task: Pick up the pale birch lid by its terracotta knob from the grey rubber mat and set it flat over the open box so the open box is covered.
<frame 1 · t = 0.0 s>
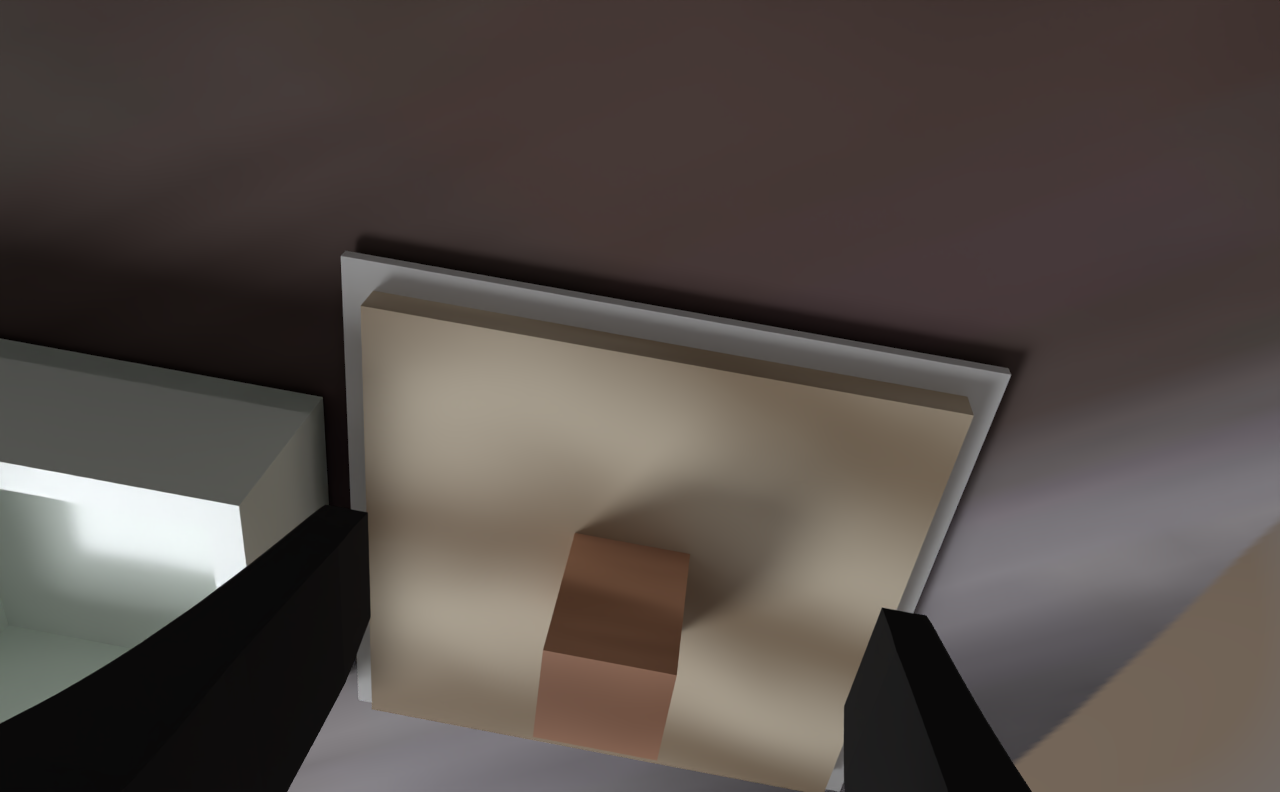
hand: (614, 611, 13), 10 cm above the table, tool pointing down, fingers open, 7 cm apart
open box: (147, 521, 27), on the table
mat: (630, 557, 26), on the table
lid: (628, 565, 25), resting on mat
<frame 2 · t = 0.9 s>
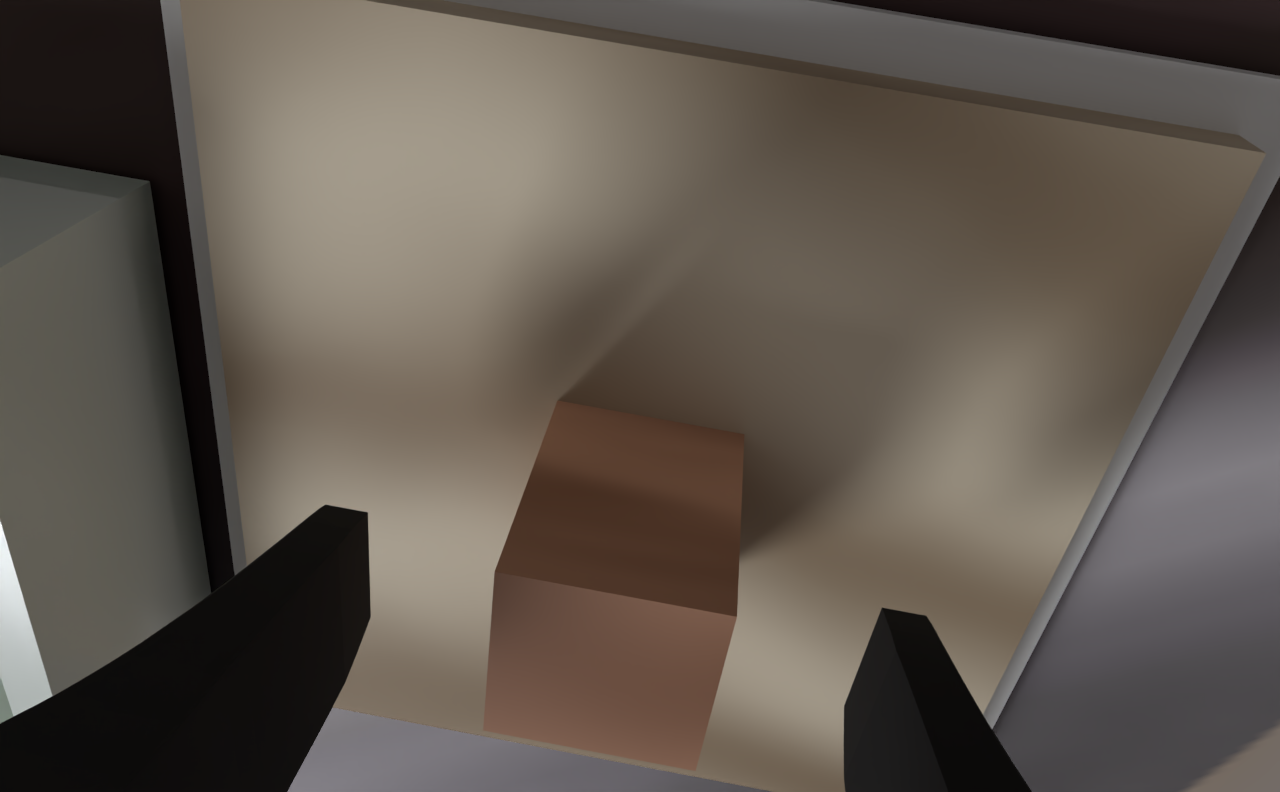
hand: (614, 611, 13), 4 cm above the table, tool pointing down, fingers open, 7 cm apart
mat: (645, 453, 16), on the table
lid: (643, 463, 16), resting on mat
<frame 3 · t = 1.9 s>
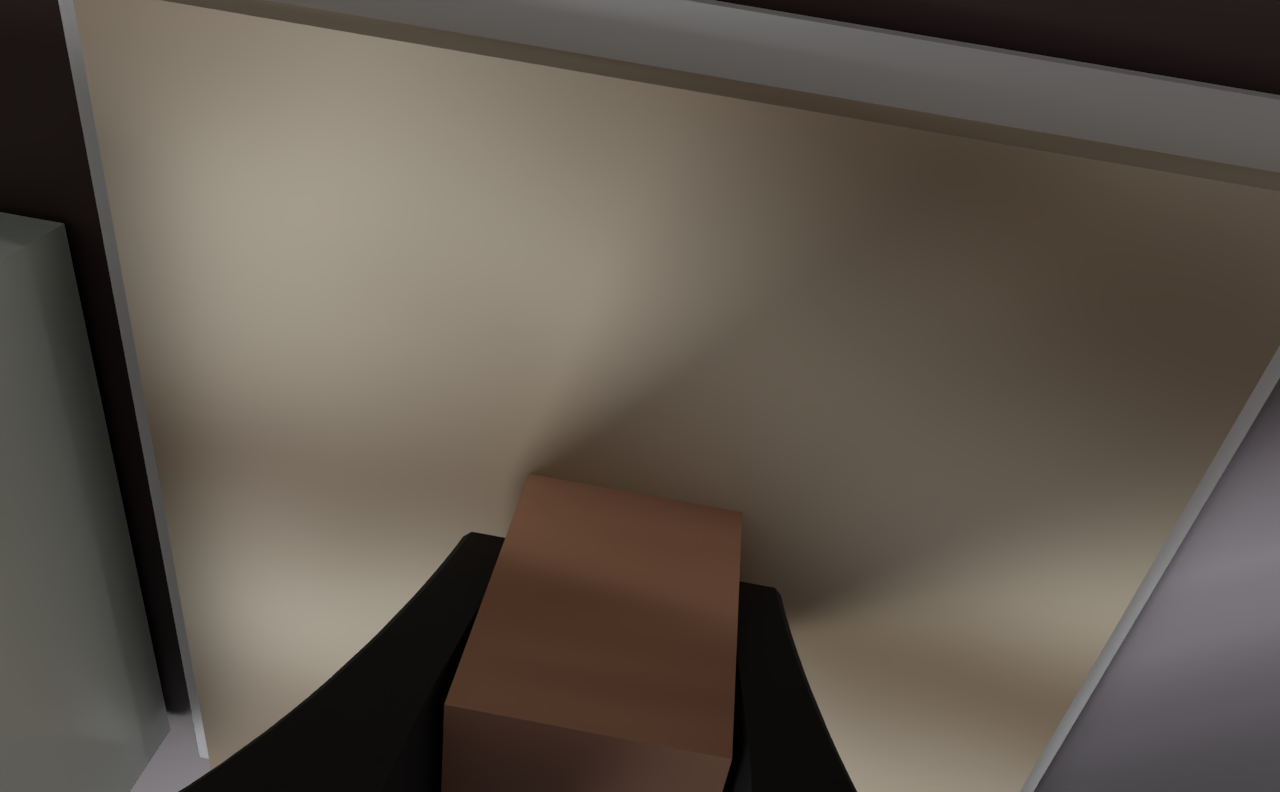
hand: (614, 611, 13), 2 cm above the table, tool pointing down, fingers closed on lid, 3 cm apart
mat: (631, 524, 15), on the table
lid: (628, 536, 14), resting on mat, touching gripper
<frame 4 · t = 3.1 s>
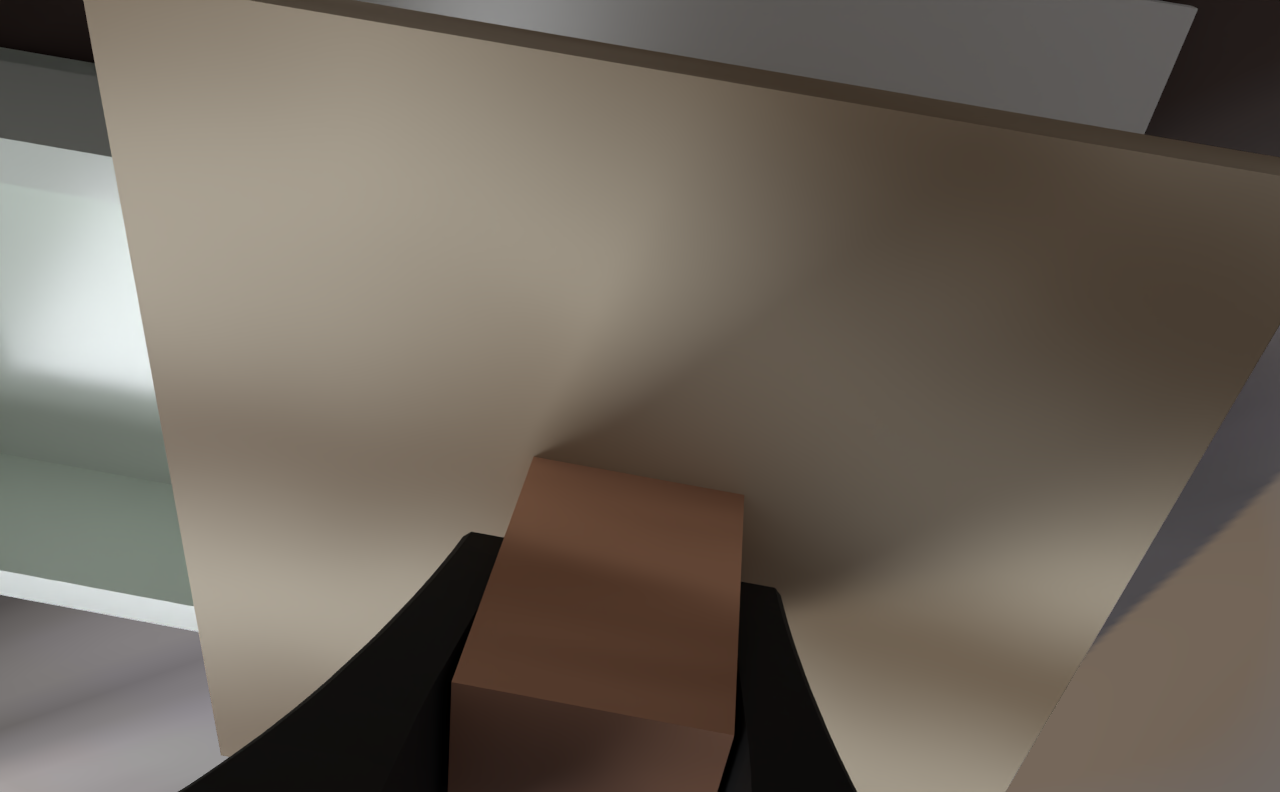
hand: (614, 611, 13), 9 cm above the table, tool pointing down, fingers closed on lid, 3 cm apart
open box: (81, 292, 22), on the table
mat: (680, 321, 21), on the table
lid: (632, 519, 15), point 7 cm above the table, touching gripper
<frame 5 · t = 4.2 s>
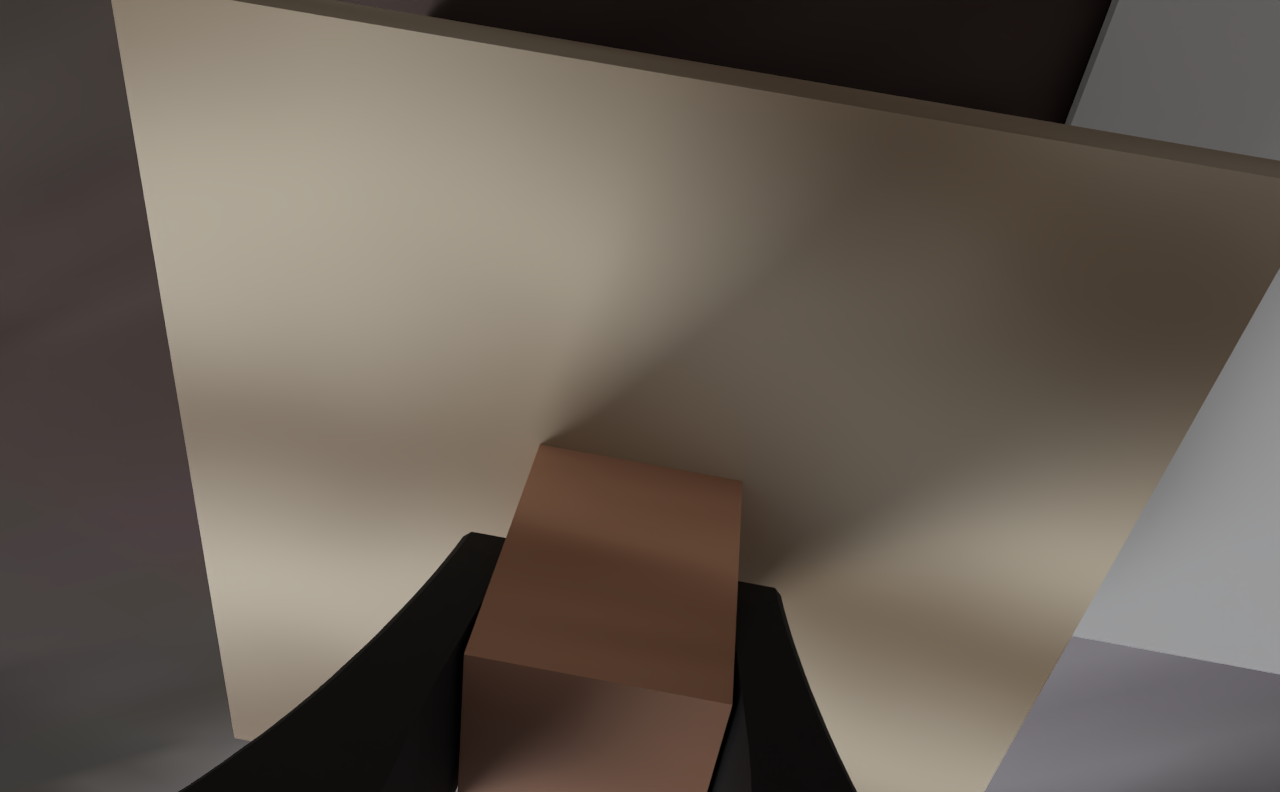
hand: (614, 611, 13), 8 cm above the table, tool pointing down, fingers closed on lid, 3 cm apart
lid: (634, 506, 15), point 6 cm above the table, touching gripper
when the fingers open (7 cm above the table, at t = 4.6 s): lid stays where it is, resting on open box.
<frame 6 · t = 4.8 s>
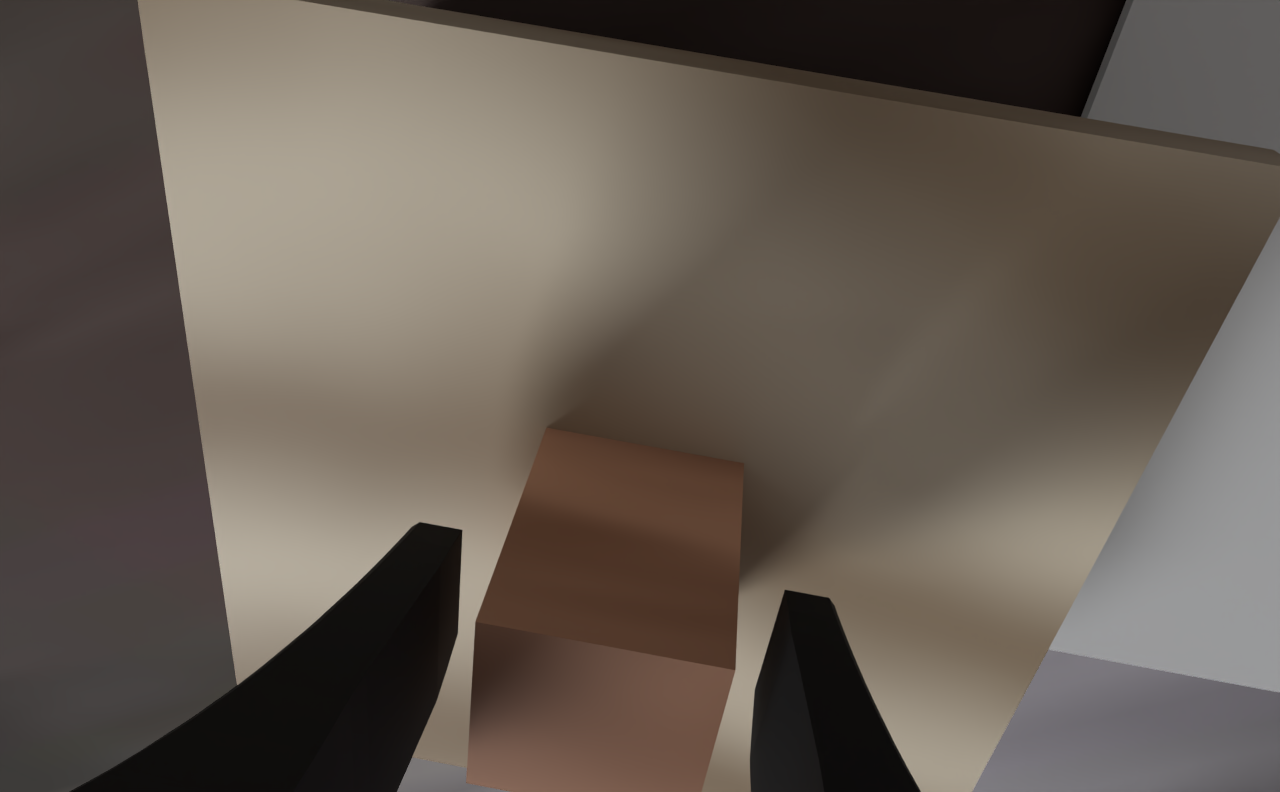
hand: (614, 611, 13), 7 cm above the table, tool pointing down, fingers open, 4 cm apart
lid: (637, 490, 15), point 4 cm above the table, touching open box
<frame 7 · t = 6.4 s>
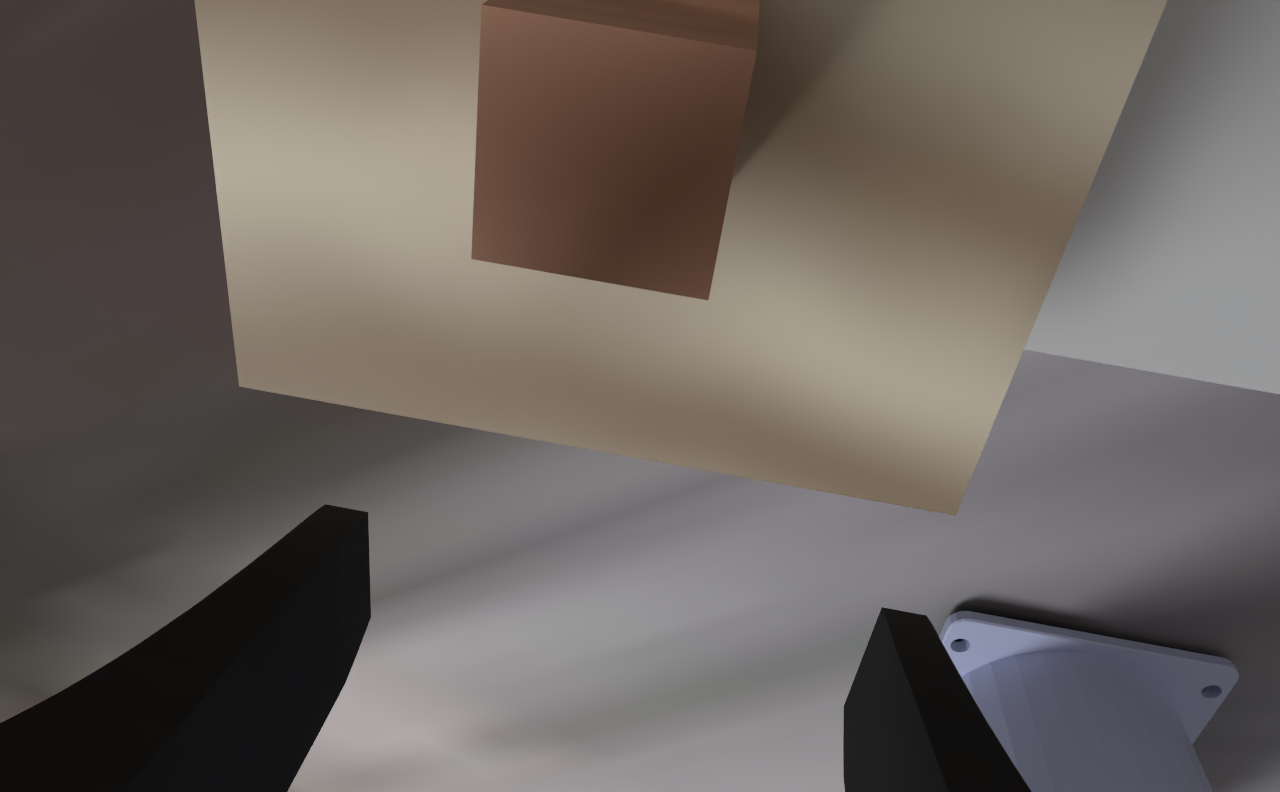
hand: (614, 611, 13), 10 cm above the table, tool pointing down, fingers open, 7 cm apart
lid: (648, 68, 15), point 4 cm above the table, touching open box
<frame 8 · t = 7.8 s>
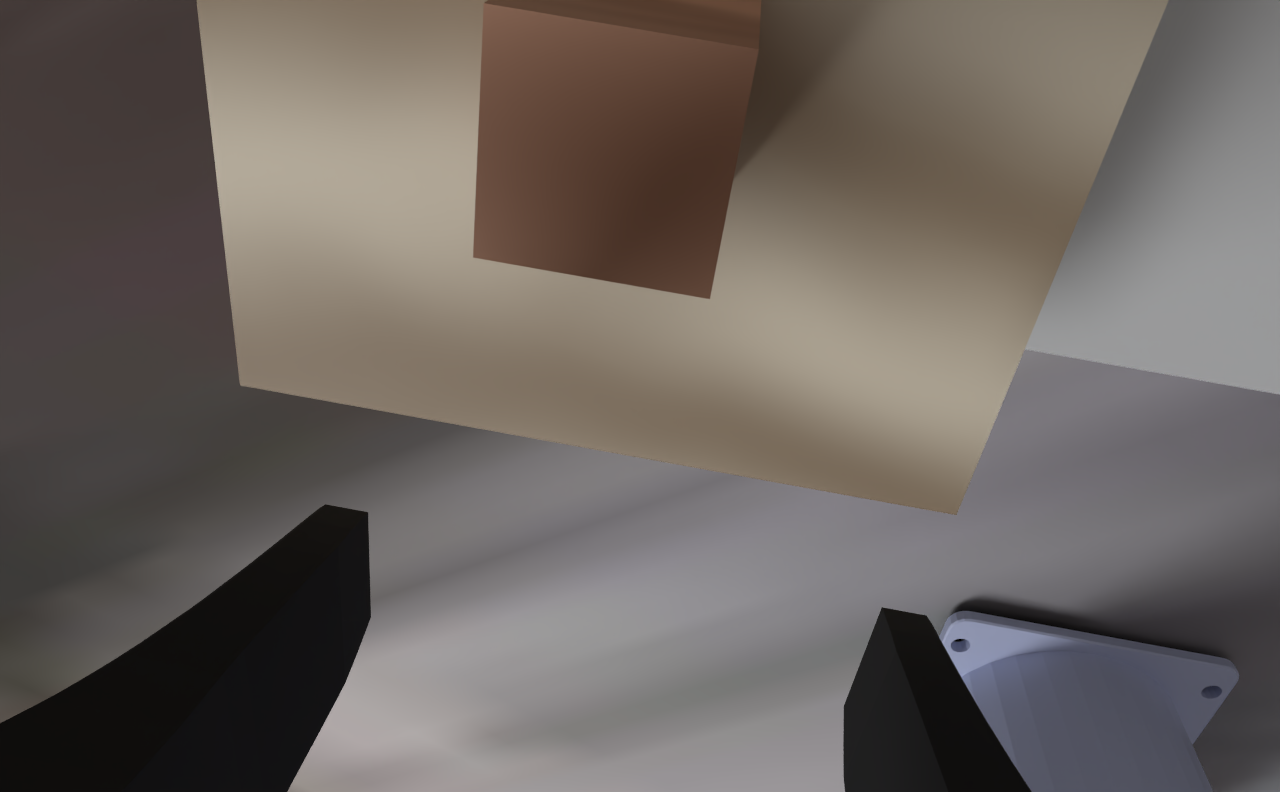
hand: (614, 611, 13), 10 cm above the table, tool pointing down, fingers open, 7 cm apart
lid: (649, 67, 15), point 4 cm above the table, touching open box
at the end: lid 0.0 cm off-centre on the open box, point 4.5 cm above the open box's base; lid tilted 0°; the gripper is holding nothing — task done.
